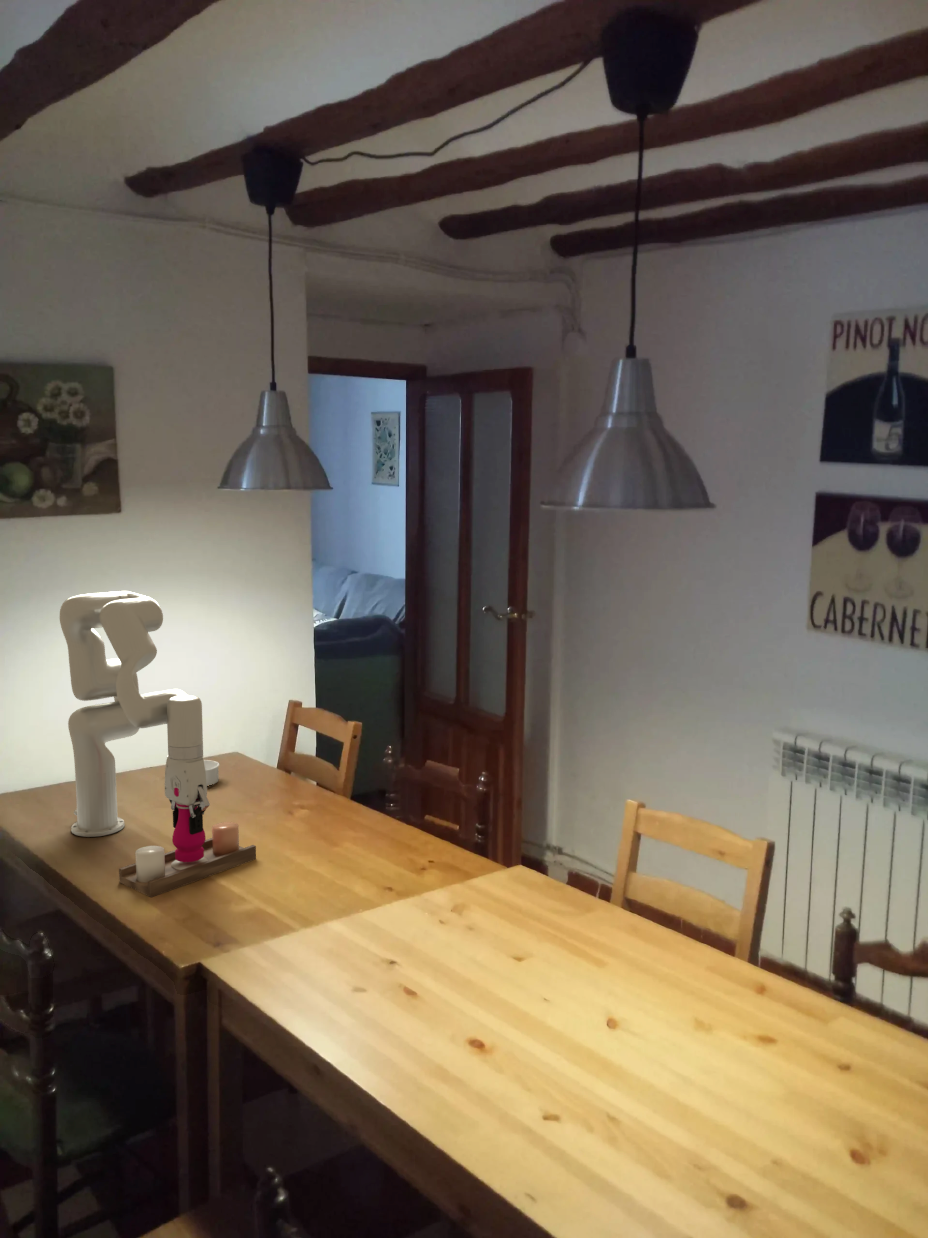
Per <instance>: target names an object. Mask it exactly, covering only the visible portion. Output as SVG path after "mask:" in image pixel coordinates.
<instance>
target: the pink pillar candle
mask: <svg viewBox="0 0 928 1238" xmlns="http://www.w3.org/2000/svg"><path fill="white" fill-rule="evenodd" d="M239 835H240V834H239V824H238V823H237V822H232V821H224V822H217V823H215V824H213V825H212V826H211V838H212V846H213V854H215V855H218V856H223V855H226V854H228V853H231V852H234V851H237V850H239V846H240V839H239V837H240V836H239Z"/></svg>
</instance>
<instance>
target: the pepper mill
mask: <svg viewBox="0 0 928 1238" xmlns="http://www.w3.org/2000/svg"><path fill="white" fill-rule="evenodd" d="M178 791H179V789H178V788H174V795H175V796H176V797H178V796H179V792H180V791H179V792H178ZM195 802H197V799H196V801H195ZM176 803H177V804H176V807H178V810H179V815H178V822H177V824H176V827H175V828H174V829H173V834H172V844H173V846H174V847H175V848H176V849H174V850H175V859H176V860H177V861H180V862H193V861H197V860H200V859H202V858H203V856H204V848H203V847H202V845H203V844H204V842H205V840H207V839H206V832H205V829H204V828H203V831H202V832H199V833H196V834H193V835H192V834H190V832H189V817H191V814H190V809H189V806H186V805H183V804H180V803H178V802H176ZM197 807H198V805H194V808H195V809H196V808H197Z"/></svg>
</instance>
